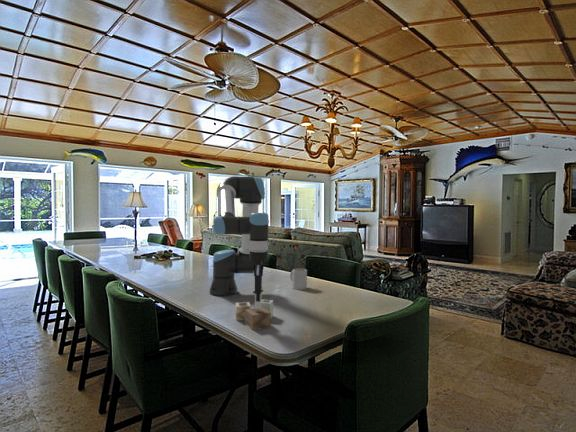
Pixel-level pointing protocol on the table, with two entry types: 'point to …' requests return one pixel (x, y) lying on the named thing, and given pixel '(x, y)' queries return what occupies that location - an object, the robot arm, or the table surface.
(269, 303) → the pale square cup
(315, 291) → the table surface
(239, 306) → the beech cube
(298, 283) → the mug
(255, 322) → the walnut block
